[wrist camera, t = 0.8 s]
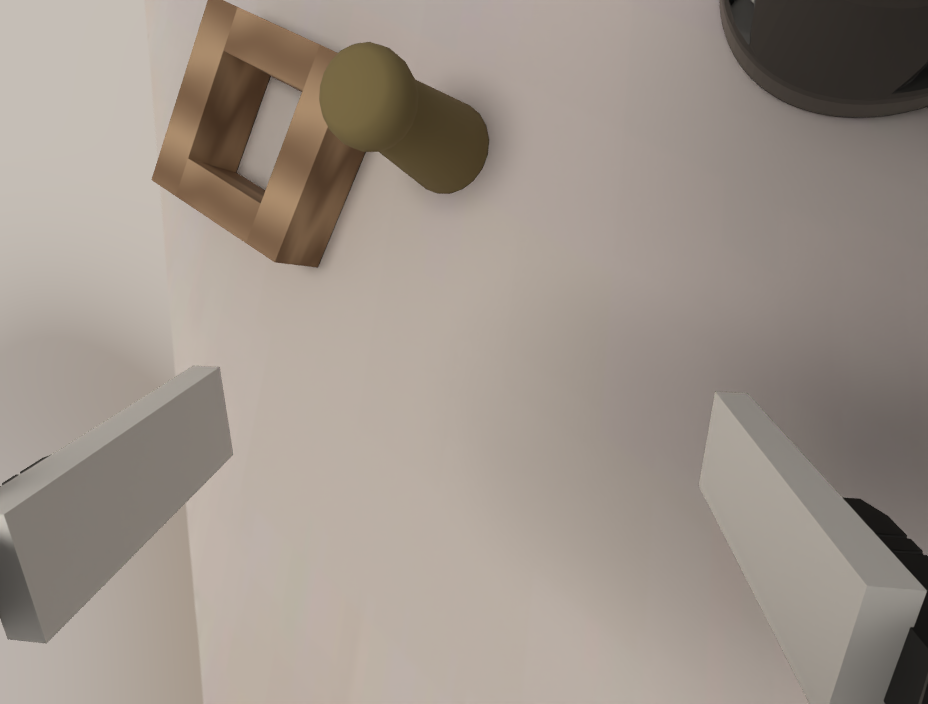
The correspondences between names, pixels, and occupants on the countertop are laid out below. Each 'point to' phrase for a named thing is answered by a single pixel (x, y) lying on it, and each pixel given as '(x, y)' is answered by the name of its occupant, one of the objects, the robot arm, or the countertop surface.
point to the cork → (402, 118)
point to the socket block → (227, 130)
